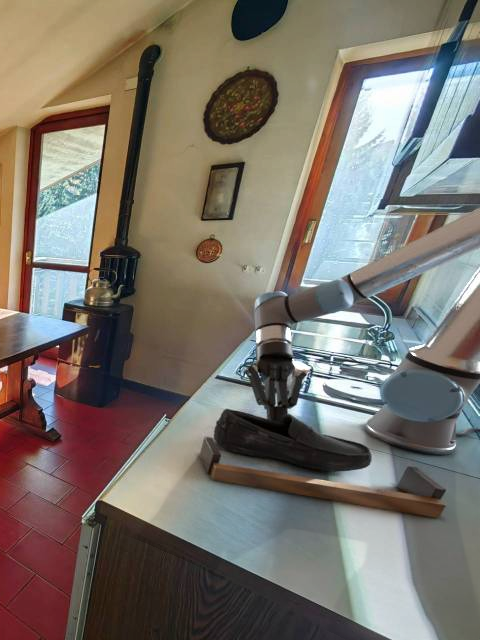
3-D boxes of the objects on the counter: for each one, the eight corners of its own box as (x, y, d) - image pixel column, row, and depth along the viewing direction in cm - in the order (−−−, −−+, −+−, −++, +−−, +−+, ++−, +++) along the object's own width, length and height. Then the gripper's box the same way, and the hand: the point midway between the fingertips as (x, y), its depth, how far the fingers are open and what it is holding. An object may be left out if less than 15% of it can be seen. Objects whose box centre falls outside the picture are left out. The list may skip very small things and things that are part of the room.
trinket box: (254, 380, 133) (262, 354, 129) (282, 379, 134) (291, 353, 130) (280, 393, 123) (290, 365, 119) (311, 392, 124) (321, 364, 121)
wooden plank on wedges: (405, 487, 79) (416, 467, 78) (441, 518, 71) (455, 496, 69) (199, 455, 90) (204, 436, 88) (209, 479, 81) (215, 459, 79)
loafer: (375, 483, 81) (396, 440, 77) (217, 457, 89) (230, 418, 85) (347, 456, 90) (365, 417, 86) (207, 435, 98) (217, 399, 94)
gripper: (294, 356, 103) (301, 441, 95) (238, 351, 107) (240, 433, 99) (311, 342, 96) (320, 433, 88) (251, 337, 100) (254, 424, 92)
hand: (278, 433), depth 93 cm, fingers closed
